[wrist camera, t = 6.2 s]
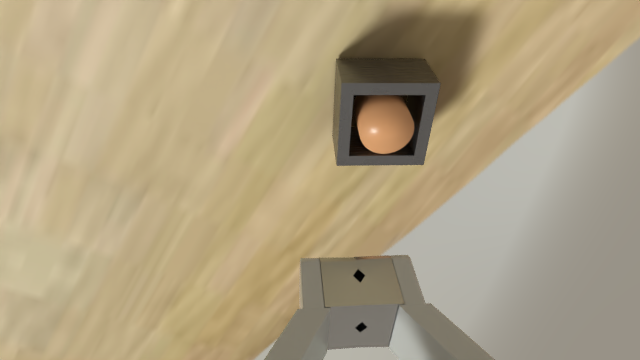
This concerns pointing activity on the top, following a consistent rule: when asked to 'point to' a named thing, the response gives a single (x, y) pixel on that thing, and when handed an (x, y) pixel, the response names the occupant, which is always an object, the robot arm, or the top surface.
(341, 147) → the dark grey open box
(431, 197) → the top surface
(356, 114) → the brown egg
